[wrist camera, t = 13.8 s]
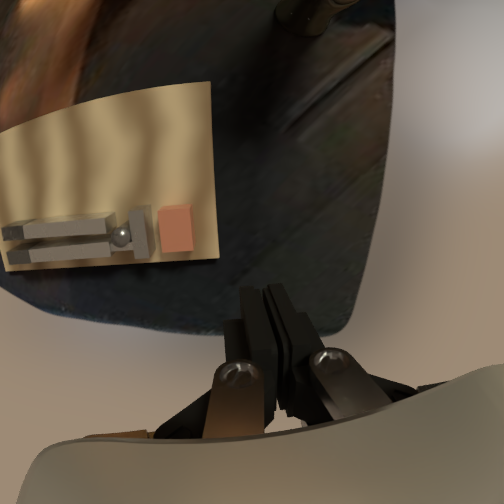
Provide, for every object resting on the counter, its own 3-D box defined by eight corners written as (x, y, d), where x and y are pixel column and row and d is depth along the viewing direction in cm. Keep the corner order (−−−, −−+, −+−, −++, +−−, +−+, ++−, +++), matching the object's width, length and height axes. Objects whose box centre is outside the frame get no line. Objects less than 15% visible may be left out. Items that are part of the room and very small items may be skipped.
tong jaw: (115, 211, 26) (104, 217, 24) (116, 226, 27) (106, 234, 24) (15, 221, 25) (0, 227, 22) (17, 233, 26) (3, 241, 23)
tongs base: (150, 204, 27) (141, 211, 23) (156, 248, 28) (148, 260, 25) (15, 223, 25) (-2, 231, 22) (23, 258, 27) (7, 269, 23)
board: (10, 268, 28) (5, 271, 27) (-8, 139, 22) (-13, 139, 21) (219, 254, 30) (219, 258, 29) (210, 84, 25) (210, 81, 23)
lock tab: (192, 203, 27) (189, 208, 25) (195, 242, 28) (193, 250, 26) (162, 206, 27) (157, 211, 25) (167, 244, 28) (162, 252, 26)
